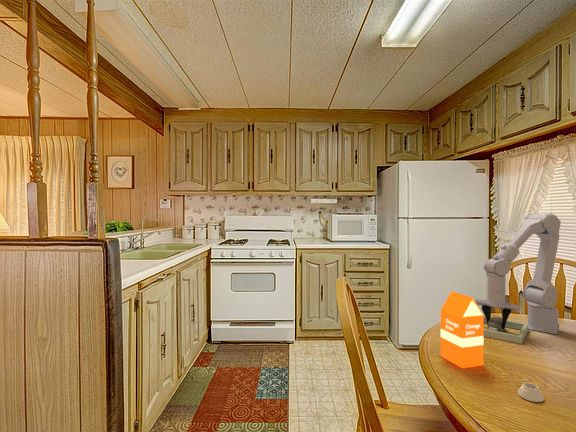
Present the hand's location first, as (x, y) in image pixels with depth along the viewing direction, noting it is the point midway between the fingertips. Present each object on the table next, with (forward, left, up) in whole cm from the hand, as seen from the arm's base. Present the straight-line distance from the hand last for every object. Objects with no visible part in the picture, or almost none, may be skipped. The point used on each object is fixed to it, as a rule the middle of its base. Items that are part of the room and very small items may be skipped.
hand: (496, 327), depth 126 cm
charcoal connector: (0, 0, -1) cm, 1 cm away
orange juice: (+3, +36, -2) cm, 37 cm away
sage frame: (0, 0, -1) cm, 1 cm away
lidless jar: (-15, +48, -2) cm, 50 cm away
